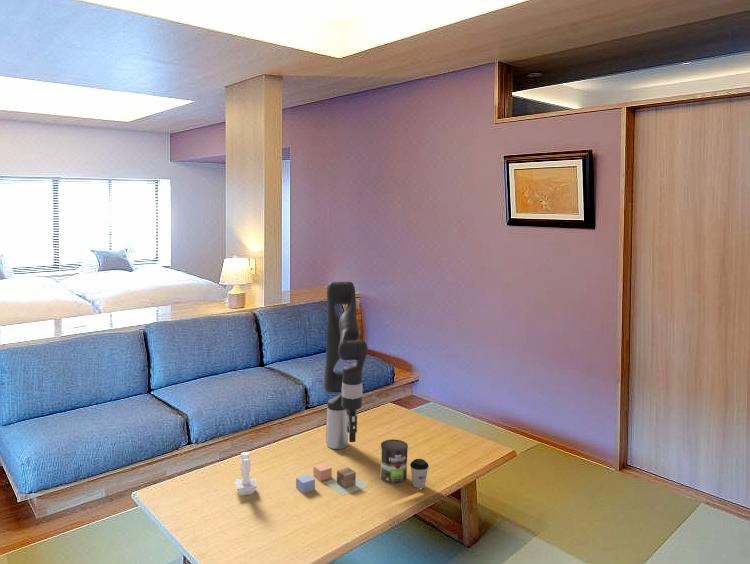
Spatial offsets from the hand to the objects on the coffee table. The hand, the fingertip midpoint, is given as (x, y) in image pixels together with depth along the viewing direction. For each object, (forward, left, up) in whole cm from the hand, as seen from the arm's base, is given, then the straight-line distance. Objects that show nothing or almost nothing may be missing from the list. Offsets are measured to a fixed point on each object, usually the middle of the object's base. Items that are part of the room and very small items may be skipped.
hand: (351, 436), depth 210 cm
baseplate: (-2, 0, -20) cm, 20 cm away
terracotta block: (-12, -4, -20) cm, 24 cm away
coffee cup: (+14, +22, -20) cm, 33 cm away
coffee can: (+4, +18, -20) cm, 27 cm away
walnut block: (-2, 0, -19) cm, 19 cm away
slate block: (-8, -14, -20) cm, 26 cm away
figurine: (-20, -32, -20) cm, 43 cm away
